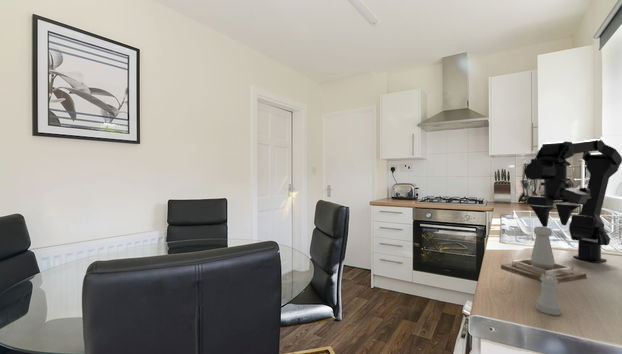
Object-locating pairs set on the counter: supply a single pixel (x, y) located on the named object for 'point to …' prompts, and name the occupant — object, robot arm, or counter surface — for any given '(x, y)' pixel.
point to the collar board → (542, 270)
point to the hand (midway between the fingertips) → (554, 225)
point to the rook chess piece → (549, 296)
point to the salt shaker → (542, 249)
